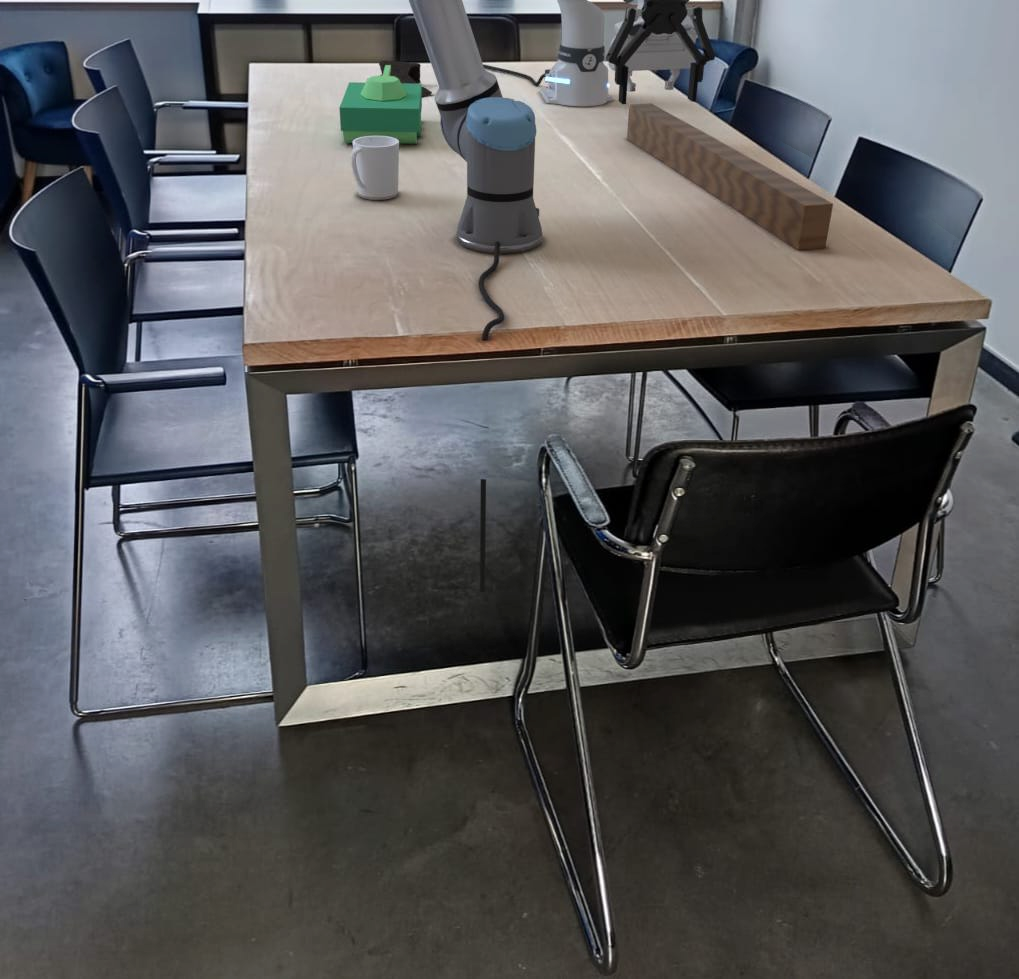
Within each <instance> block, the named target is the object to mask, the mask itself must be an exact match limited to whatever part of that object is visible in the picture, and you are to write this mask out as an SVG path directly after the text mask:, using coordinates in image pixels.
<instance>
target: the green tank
mask: <svg viewBox="0 0 1019 979" xmlns="http://www.w3.org/2000/svg"><path fill="white" fill-rule="evenodd" d="M390 73H391V65H385V68H384V72H383V75H382V74H380V75H381V76H380V75H371V76H370V77H368V78H367V79H366V80H365V82H356V81H355V82H352V81H349V82H348V84H347V87H346V89H345V92H344V94H343V97H342V99H341V102H340V105H339V123H340V132H342V134H343V140H344V143H345V144H353V140H354V139H356V138H359V137H364V136H388V137H393V138H396V139H397V140H398V141H399V144H406V145H407V144H413V145H415V144H418V137H421V135H422V134H421V130H422V108H423V96H422V87H423V86H422V85H423V84H422V83H419V84H410V83H401V82H400V80H399V79H398V78H396V77H395V76H390Z"/></svg>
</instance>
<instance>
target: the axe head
mask: <svg viewBox="0 0 1019 979" xmlns="http://www.w3.org/2000/svg"><path fill="white" fill-rule="evenodd" d="M385 65H391V73H390V76H395V77H396V78H398V79H399V80H400V82H401V83H410V84H422V82H421V63H419V62H410V61H408V62H407V61H397V60H388V59H387V60H380V61H379V62H378V66H379V68H380V72H381V74H379V76H381V75H383V72H384V68H385ZM432 94H433V91H431V90H430V89H428V88H427V87H425V86H422V97H425V96H429V95H432Z"/></svg>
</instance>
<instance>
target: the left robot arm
mask: <svg viewBox="0 0 1019 979" xmlns="http://www.w3.org/2000/svg"><path fill="white" fill-rule="evenodd" d="M408 3H409V6H410V9H411V12H412V14H413V16H414V19H415V22H416V25H417V28H418V31H419V34H420V36H421V39H422V42H423V45H424V48H425V50H426V53H427V56H428V59H429V62H430V65H431V67H432V72H433V73H434V77H435V79H436V82H437V84H438V89H437V90H436V93H435V95H434V103H435V104H436V107H437V110H438V113H439V116H440V119H439V120H440V129H441V132H442V136H443V138H444V141H445V142H446V143H447V145H448V146H449V147H450V149H451V150H452V151H454V153H456V154H457V155H458V156H460V157H461V158H462V159H463V160H464V162H466V192H467V193H466V198H465V202H464V205H463V209H462V211H461V214H460V218H459V220H458V224H457V228H456V241H457V243H458V244H459V245H461V246H462V247H464V248H466V249H468V250H470V251H475V252H479V253H486V254H493V262H492V264H491V266H490V267H489V268H488V269H486V270H485V271H484V272H483V273H481V274H480V277H479V279H478V289H479V292H480V294H481V296H482V298H483V300H484V301H485V303H486V304H487V305H488V306H489V307H490V308H491V309H492V310H494V312H496V314H497V318H495V319H492V320H491V321H489V322H487V324H486V325H485V326H484V328H483V331H482V335H481V341H482V342H487V341H488V338H489V335H490V331H491V330H492V328H494V327H495V326H497V325H500V324H503V322H504V320H505V314H504V311H503V309H502V308H501V307H500V306H499V305H498V304H497V303H495V301H494V300H493V299H492V298H491V297H490V295H489V293H488V292H487V290H486V287H485V280H486V279H487V278H488V277H489V276H490V275H491V274H493V273H494V272H495V271H496V269H497V268H498V266H499V263H500V255H506V254H507V255H508V254H517V253H524V252H527V251H530V250H533V249H536V248H538V247H539V246H540V245H541V244H542V243H543V229H542V224H541V221H540V220H541V219H540V218H539V217H540V208H538V207H537V206H536V204H535V199H534V184H535V181H534V180H535V158H536V156H535V155H536V136H537V124H536V116H535V112H534V110H533V109H532V108H531V106H530V105H528V104H527V103H525V102H523V101H520V100H515V99H514V98H509V97H504V96H503V93H502V91H501V88H500V84H499V82H498V78H497V76H496V74H494V73H492V72H490V71H488V70H486V68H484V66H483V64H484V63H483V60H482V57H481V54H480V51H479V48H478V45H477V42H476V39H475V36H474V33H473V29H472V26H471V23H470V20H469V17H468V13H467V11H466V7H465V5H464V2H463V0H408ZM685 3H686V0H644V5H643V7H642V9H637V8H633V7H632V6H627V7H626V9H625V13H624V19H623V20H624V21H623V20H622V21H623V23H622V25H621V27H620V29H619V31H618V33H616V34H615V35H616V37H615V39H614V41H613V43H612V45H611V44H610V45H611V47H610V46H609V49H608V51H607V53H606V54H605V60H606V61H607V62H610V63H612V64H615V71H614V84H616V85H617V86H618V102H619V103H620V104H621V105H627V96H628V91H627V82H628V67H627V66H626V65H625V64H626V62H627V61H628V60H629V59H630V58H631V56H632V55H633V54H634V53H635V51H636V50H637V49H638V48H639V47H640V45H641V44H642V43H643V42H644V40H645V39H646V38H647V37H649V36H650V35H651V33H654V34H656V35H660V34H663V33H665V34H672V33H674V32H675V33H676V34H677V35H678V36H679V38H680V39H681V41H682V42H683V43H684V45H685V46H686V48H687V49H688V51H689V52H690V54H691V55H692V57H693V58H694V59H695V63H691V67H690V69H689V80H688V89H687V90H688V92H687V100H689V101H690V102H691V103H696V102H697V96H698V86H699V83H702V82H703V80H704V71H705V66H706V65H707V63H708V62H712V61H714V60H715V59H716V55H715V52H714V49H713V47H712V46H713V45H712V43H711V41H710V38H709V34H708V32H707V30H706V26H705V23H704V20H703V8H702V7H701V6H698V5H696V4H695V5H692V6H691V7H687V5H686V4H687V3H686V4H685ZM640 16H641V17H642V19H643V21H644V23H643V25H642V26H641V27H640V28H639V30H638V32H637V33H636V35H635V36H634V37H633V38H632V40H631V41H630V42H629V43H628V44H627V46H626V47H625V48H624V49H623V51H622V52H621V53H620V51H621V49H622V47H623V45H624V43H625V41H626V39H627V37H628V35H629V33H630V31H631V29H632V27H633V24H634V22H635V21H637V20H638V18H639V17H640ZM687 16H688V18H689V20H691V22H692V26H693V27H694V28H695V31H696V33H697V39H698V42H699V45H700V47H701V50H702V52H703V53H702V52H701V51H700V49H699V47H697V45H696V43H695V44H694V42H693V41H692V39H691V38H690V36H689V35H688V33H687V31H686V30H685V28H684V27H683V25H684V24H682V23H683V21H684V20H685V19H686V18H687ZM619 53H620V54H619ZM618 55H619V56H618ZM479 503H480V505H479V506H480V509H479V510H480V512H479V514H480V516H479V517H480V519H479V520H480V521H479V522H480V524H479V525H480V528H479V532H480V533H479V592H480V593H486V540H487V539H486V536H487V533H486V531H487V530H486V529H487V528H486V526H487V525H486V524H487V522H486V521H487V519H486V518H487V479H485V478H480V502H479Z"/></svg>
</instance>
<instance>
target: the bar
mask: <svg viewBox="0 0 1019 979" xmlns="http://www.w3.org/2000/svg"><path fill="white" fill-rule="evenodd" d="M626 140H627V141H629V142H631V143H632V144H633V145H635V146H636V147H638V148H640V149H641V150H643V151H644V152H646V153H648V154H649V155H650V156H652V157H654V158H655V159H657V160H658V161H659V162H661V163H663V164H665V165H666V166H668V167H669V168H671V169H672V170H674V171H675V172H677V173H679V174H680V175H681V176H683V177H684V178H686V179H688V180H689V181H691V182H692V183H694V184H696V185H697V186H698V187H700V188H702V189H703V190H704V191H706V192H707V193H709V194H711V195H712V196H714V197H716V198H717V199H718V200H720V201H722V202H723V203H724V204H726V205H728V206H729V207H731V208H732V209H734V210H736V211H737V212H739V213H740V214H742V215H743V216H745V217H746V218H748V219H749V220H751V221H752V222H754V223H756V224H757V225H759V226H760V227H762V228H763V229H765V230H766V231H768V232H769V233H771V234H772V235H773V236H775V237H776V238H779V239H780V240H782V241H784V242H785V243H786V244H787V245H789V246H791V247H792V248H794V249H795V250H797V251H801V250H813V249H822V248H823V249H825V248H826V246H827V241H828V235H829V229H830V225H831V218H832V212H833V206H834V203H833V202H831V201H829V200H827V199H826V198H824V197H822V196H820V195H818V194H817V193H815V192H813V191H811V190H809V189H808V188H805V187H804V186H802V185H800V184H799V183H797V182H795V181H793V180H791V179H789V178H788V177H785V176H784V175H782V174H780V173H779V172H777V171H775V170H773V169H771V168H769V167H768V166H766V165H764V164H763V163H760V162H759V161H757V160H755V159H753V158H751V157H750V156H748V155H746V154H744V153H743V152H740V151H739V150H737V149H735V148H733V147H731V146H730V145H728V144H726V143H724V142H722V141H720V140H718V139H717V138H715V137H713V136H711V135H710V134H708V133H706V132H704V131H703V130H701V129H699V128H697V127H695V126H693V125H692V124H690V123H689V122H688V123H687V122H686V121H684V120H683V119H680V117H677V116H675V115H673V114H672V113H670V112H668V111H666V110H664V109H662V108H660V107H659V106H657V105H655V104H653V103H650V102H649V103H629V105H628V118H627V133H626Z"/></svg>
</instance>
